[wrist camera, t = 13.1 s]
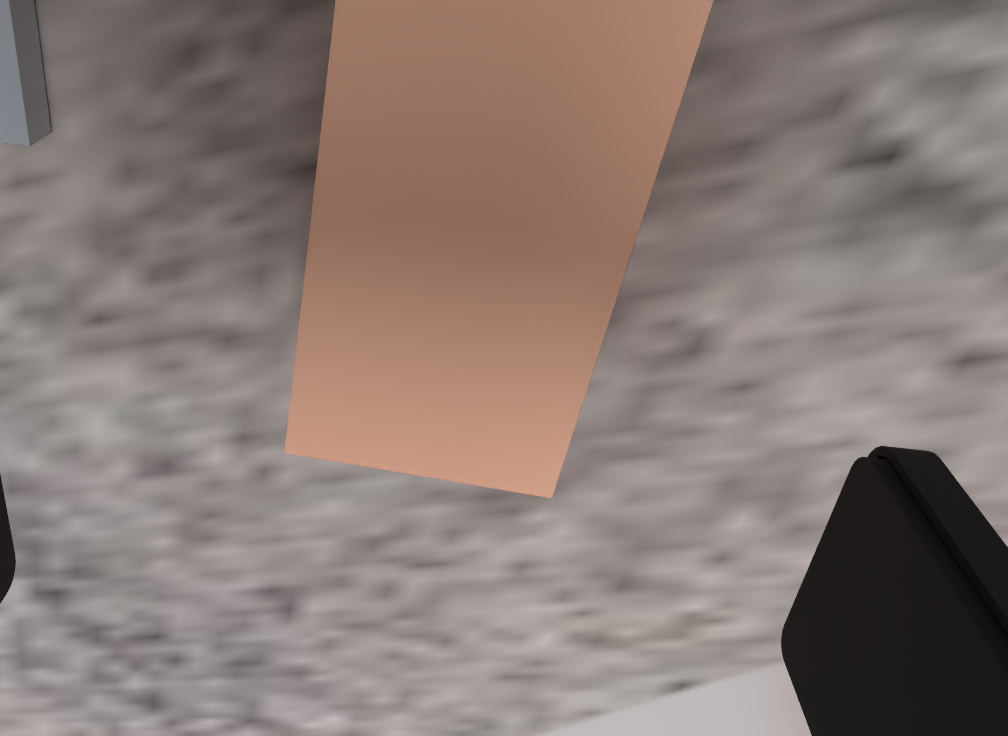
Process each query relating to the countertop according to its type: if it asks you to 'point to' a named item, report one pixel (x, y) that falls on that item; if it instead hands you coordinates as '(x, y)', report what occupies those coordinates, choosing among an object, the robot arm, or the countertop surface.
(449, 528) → the countertop surface
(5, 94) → the baseplate
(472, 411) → the terracotta brick
